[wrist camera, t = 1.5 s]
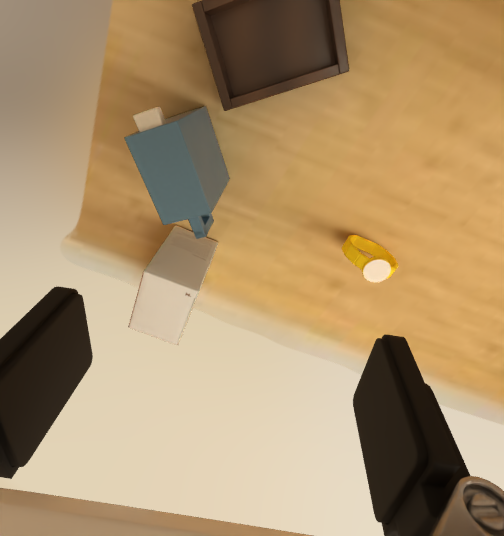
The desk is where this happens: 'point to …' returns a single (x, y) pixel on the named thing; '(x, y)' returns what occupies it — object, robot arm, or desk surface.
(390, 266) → the watch
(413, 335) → the desk surface
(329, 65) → the holder
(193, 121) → the blue box with handle
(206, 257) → the small box
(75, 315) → the robot arm
